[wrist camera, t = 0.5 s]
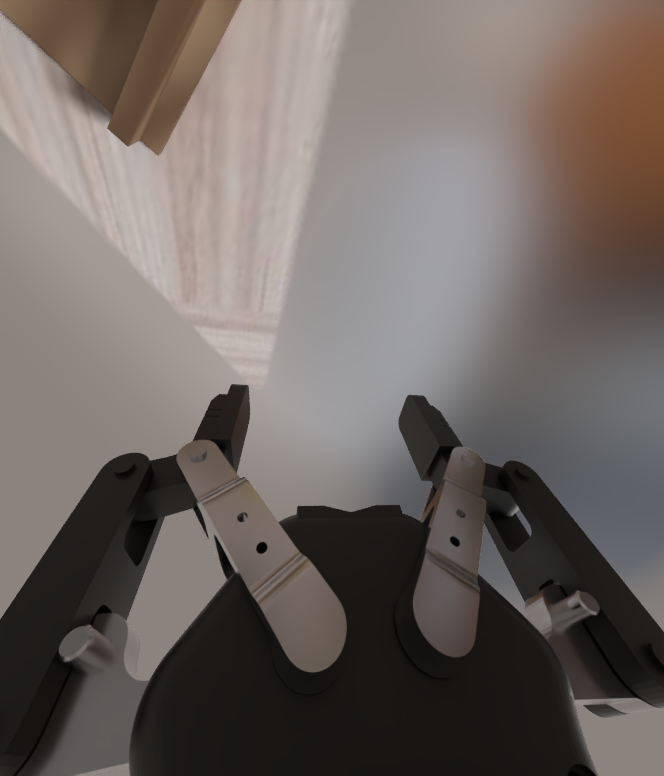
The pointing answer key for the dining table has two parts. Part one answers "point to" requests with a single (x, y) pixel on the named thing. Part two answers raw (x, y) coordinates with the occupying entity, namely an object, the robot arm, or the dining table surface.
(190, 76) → the cradle
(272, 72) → the dining table surface
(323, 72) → the dining table surface
